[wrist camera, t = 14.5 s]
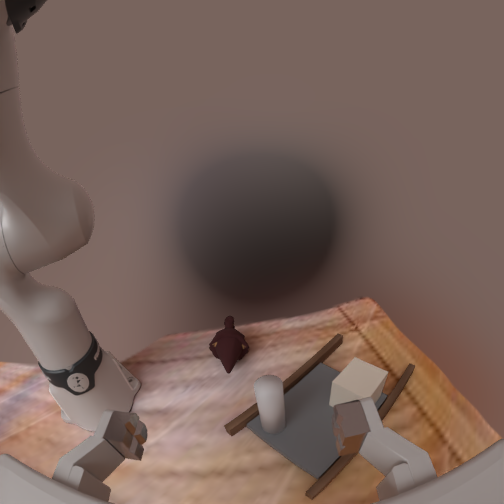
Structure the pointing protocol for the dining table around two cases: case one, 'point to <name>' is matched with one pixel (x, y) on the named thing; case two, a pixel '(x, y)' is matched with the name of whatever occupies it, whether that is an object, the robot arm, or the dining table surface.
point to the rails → (295, 378)
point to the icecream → (229, 345)
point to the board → (300, 419)
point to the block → (357, 383)
